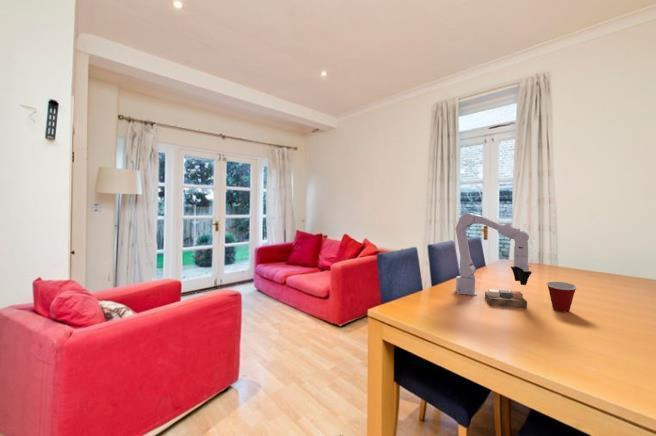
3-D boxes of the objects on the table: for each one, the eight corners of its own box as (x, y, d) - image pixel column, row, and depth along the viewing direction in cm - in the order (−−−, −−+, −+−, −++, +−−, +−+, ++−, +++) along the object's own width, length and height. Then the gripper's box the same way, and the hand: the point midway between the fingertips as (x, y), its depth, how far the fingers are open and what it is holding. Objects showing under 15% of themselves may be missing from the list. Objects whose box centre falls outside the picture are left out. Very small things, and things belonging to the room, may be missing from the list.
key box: (490, 305, 131) (490, 298, 131) (485, 298, 142) (485, 291, 142) (527, 309, 127) (527, 301, 126) (518, 301, 137) (519, 294, 137)
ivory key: (490, 297, 134) (490, 291, 134) (488, 295, 138) (488, 289, 138) (499, 298, 133) (499, 292, 133) (497, 296, 137) (497, 289, 137)
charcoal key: (501, 298, 133) (501, 292, 133) (499, 296, 137) (499, 290, 137) (510, 299, 132) (511, 293, 131) (508, 297, 135) (508, 290, 135)
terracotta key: (512, 299, 131) (512, 293, 131) (510, 297, 135) (510, 290, 135) (522, 300, 130) (522, 294, 130) (519, 298, 134) (519, 291, 134)
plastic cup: (541, 308, 127) (541, 283, 126) (551, 304, 132) (551, 280, 132) (571, 316, 117) (571, 289, 117) (580, 311, 123) (581, 285, 123)
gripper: (536, 258, 127) (536, 287, 128) (524, 253, 141) (524, 279, 142) (519, 257, 130) (518, 286, 130) (509, 253, 143) (508, 278, 144)
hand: (520, 282), depth 136 cm, fingers open, 7 cm apart
